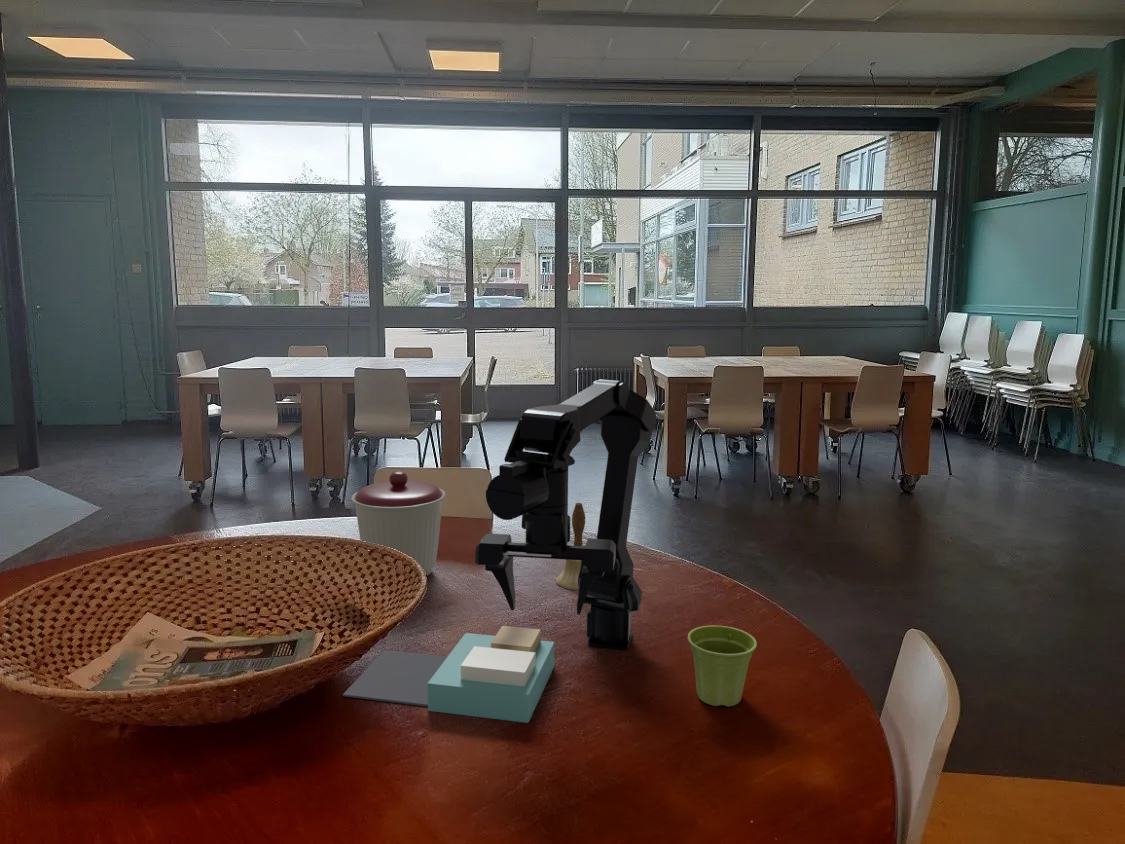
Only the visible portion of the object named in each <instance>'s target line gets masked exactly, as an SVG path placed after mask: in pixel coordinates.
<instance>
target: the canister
mask: <svg viewBox="0 0 1125 844" xmlns="http://www.w3.org/2000/svg"><path fill="white" fill-rule="evenodd" d="M350 498H351V502H352V503H353V504H354V506H355V512H356V513H355V515H356V520H357V526H358V533H359V534H358V535H359V539H360V540H362V541H366V542H370V543H375V544H379V545H383V546H386V547H390V548H393V549H396V550H398V551H400V552H402V553H405V554H407V555H409V556H410V557H412V558H413V559H415V560H416V561H417V562H418V563H419V564H420V565H421V567H422V568H423V569H424V571H425V572H426V575H427V576H426V577H428V576H429V575H430V574H431V573H432V572H433V571H434V569H435V565H436V562H437V556H438V550H439V549H438V547H439V541H440V540H439V539H440V529H441V518H442V507H443V500H444V499H445V498H446V491H445V490H443V489H442V488H440V487H438V486H436V484H433V483H430V482H426V481H421V480H411V479H410V480H409V479H408V475H407V473H405V472H404V471H398V470H397V471H394V472H392V473H391V474H390V475H389V477H388V481H381V482H376V483H372V484H369V485H366V486H364V487H362V488H361V489H359V490H358V491H356V492H354V493H353V494H352V495H351V497H350ZM360 540H359V541H360Z"/></svg>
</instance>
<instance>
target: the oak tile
mask: <svg viewBox="0 0 1125 844" xmlns="http://www.w3.org/2000/svg"><path fill="white" fill-rule="evenodd" d="M541 631H542V629H538V628H530V627H529V628H528V627H517V626H509V625H508V626H507V625H502V626H501V628H499V630H498V632H497V633H496V634H495V635H494V636H495V637H494V639H493V640H492V642H491V648H497V649H506V650H516V651H526V652H536V650H537V648H538V646H539V644H540V642H541V641H542V639H541V638H542V635H541V634H542V632H541Z"/></svg>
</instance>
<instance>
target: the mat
mask: <svg viewBox="0 0 1125 844" xmlns="http://www.w3.org/2000/svg"><path fill="white" fill-rule="evenodd" d="M447 657H448V655H447V656H445V655H437V654H426V653H417V652H410V651H409V652H406V651H398V650H388V649H384V650H383V651H382V652H381V654H379V656H378V657H377V658H376V659H375V660H374V661H373V662H372V663H371V664H370V665H369V666H368V667H367V668H366V669H365V670H364V672H363V673H362V674H361V675H360V676H358V678H357V679H356V680H355V681H354V682H353V683H352V684H351V685H350V686H349V687H348V688H347V690H345V691H344V693H343V694H342V696H343V697H346V698H354V699H362V700H363V699H364V700H372V701H379V702H388V703H397V704H402V705H403V704H405V705H411V706H412V705H414V706H421V707H428V682H429V681H430V679H431V678H432V677H433V675H434V674H435V673H436V671H437V670H438V669H439V668H440V666H441V665H442V664H443V662H444V661H445V660H446V658H447Z"/></svg>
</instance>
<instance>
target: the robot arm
mask: <svg viewBox="0 0 1125 844" xmlns="http://www.w3.org/2000/svg"><path fill="white" fill-rule="evenodd" d="M597 421H598V422H599V424H600V426H601V427H600V437H601V439H602V441H603V442H602V443H603V444H604V447H605V449H606V451H607V461H606V467H605V473H604V474H605V475H604V480H603V481H604V482H603V483H604V484H603V489H602V496H601V503H600V510H599V519H598V525H597V532H596V534H597V535H596V538H587V540H586V543H585V545H582V546H574V545H569V544H568V543H569V542H570V541H571V516H570V515H569V514H568V512H569V511H568V510H569V507H568V506H569V467H570V466H573V465H575V463H576V460H575V459H574V457H573V456H571V453H572V451H573V450H574V448H575V447H576V446H577V445H579V443H580V442H581V432H583V430H585V429H586V428H588V427H590V426H591V425H593V424H594V423H595V422H597ZM656 424H657V414H656V411H655V409H654V408H653V406H652V405H651V404H650V402H649V401H648V400H647V399H646V398H645V397H644V396H642V395H640V394H638V393H637V392H635V391H634V390H632V389H631V388H630V387H629V385H628V384H627V383H626V382H624V381H622V380H616V379H614V380H613V379H601V378H600V379H598V380H594V381H593V382H592V384H591V385H589V386H587V387H586V388H585V389H583V390H582V391H580V392H577V393H576V394H574V395H573V396H571V397H569V398H567V399H566V400H564V401H563V402H561V403H557V404H553V405H540V406H536V407H532V408H528V409H526V410H525V411H524V412H523V413H522V415H521V416H520V419H519V420H518V423H517V424H516V426H515V427H516V428H515V430H514V433H513V435H512V437H511V441H510V442H509V445H508V447H507V451H506V452H505V453H506V454H505V457H504V464H500V465H499V467H498V469H499V472H498V473H499V474H497V475H496V476H494V477H492V479H490V481H489V483H488V485H487V488H486V491H485V499H486V503H487V507H488V508H489V510H490V511H491V512H492V513H493V515H495V517H497V518H499V519H501V520H504V521H512V520H513V519H516V518H519V517H520V516H521V529H523V530H525V542H512V537H511V534H509V533H508V534H506V533H485V535H484V536H482V538H481V539H480V540H479V542H478V543H477V544H476V546H475V551H474V552H475V553H474V554H475V555H474V556H475V557H474V559H475V560H474V561H475V562H474V563H475V564H477V565H480V566H484V570H485V571H487V572H491V573H492V575H493V576H494V578H495V579H496V581H497V583H498V584H499V587H500V588H501V591H502V593H503V595H504V597H505V599H506V602H507V604H508V606H509V608H510V611H515V608H516V589H515V588H516V587H515V578H514V558H530V559H531V558H532V559H533V558H534V559H550V560H551V559H553V560H565V561H566V560H581V569H580V573H579V576H578V586H579V590H578V594H577V595H578V596H577V602H576V615H578V616H579V615H580V614H581V613H582V610H583V607H584V604H587V605H590V607H589V609H588V611H587V613H586V637H587V638H588V641H587V645H588V646H590V647H597V648H598V647H599V648H609V649H619V650H628V649H629V648H630V647H629V646H630V643H631V639H632V636H633V630H632V629H631V627H632V626H631V622H632V612H638V611H639V610H640V605H641V602H642V596H643V591H642V589H641V587H640V586H639V584H638V583H637V581H636V580H635V578H634V566H635V565H634V562H633V560H632V557H631V555H630V553H629V550H628V548H627V543H628V542H627V541H628V536H629V535H628V533H629V527H630V520H631V511H632V505H633V497H634V492H635V491H634V490H635V482H636V476H637V467H638V460H639V457H640V456H641V455H642V453H643V452H644V450H645V449H646V448H647V447H648V446H649V444H650V443H651V439H652V435H653V432H654V430H655V427H656Z"/></svg>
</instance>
